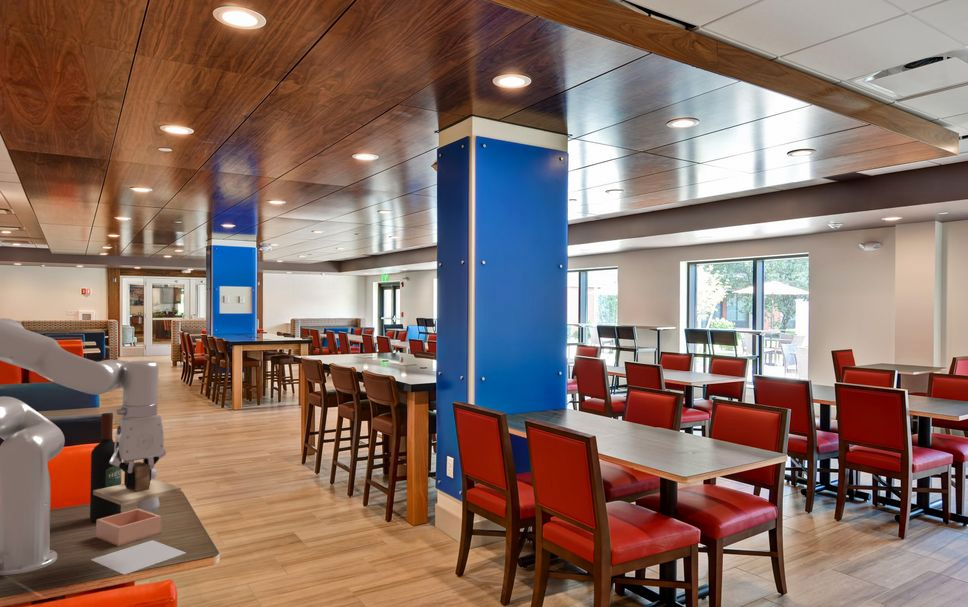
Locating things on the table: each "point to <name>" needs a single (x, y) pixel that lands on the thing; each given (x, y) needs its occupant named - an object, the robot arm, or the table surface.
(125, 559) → the mat
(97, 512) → the wine bottle
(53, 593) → the table surface
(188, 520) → the table surface
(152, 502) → the salt shaker
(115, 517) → the pink open box
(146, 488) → the lid
